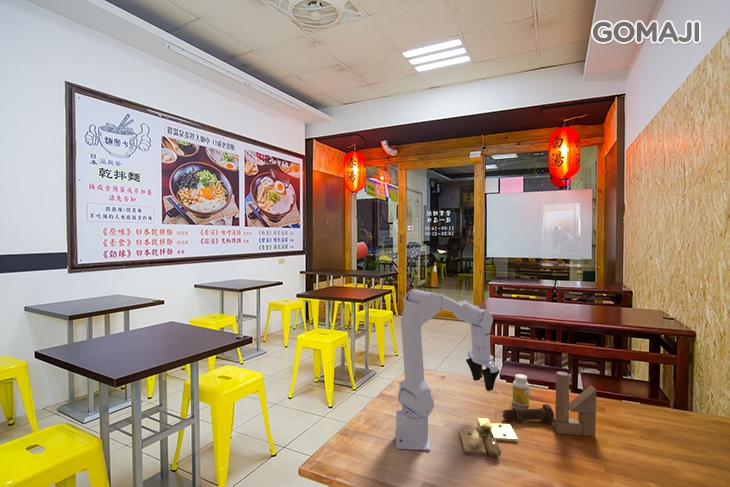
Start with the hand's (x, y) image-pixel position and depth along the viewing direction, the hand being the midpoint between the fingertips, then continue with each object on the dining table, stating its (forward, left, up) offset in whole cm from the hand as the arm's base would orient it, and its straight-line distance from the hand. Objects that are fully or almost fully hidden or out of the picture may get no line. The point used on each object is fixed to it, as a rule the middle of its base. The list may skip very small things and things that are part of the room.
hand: (483, 384), depth 120 cm
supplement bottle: (+15, +11, -11) cm, 21 cm away
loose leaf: (+2, -10, -10) cm, 15 cm away
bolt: (+13, -2, -11) cm, 17 cm away
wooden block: (+25, -7, -11) cm, 28 cm away
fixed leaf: (-5, -17, -10) cm, 20 cm away
